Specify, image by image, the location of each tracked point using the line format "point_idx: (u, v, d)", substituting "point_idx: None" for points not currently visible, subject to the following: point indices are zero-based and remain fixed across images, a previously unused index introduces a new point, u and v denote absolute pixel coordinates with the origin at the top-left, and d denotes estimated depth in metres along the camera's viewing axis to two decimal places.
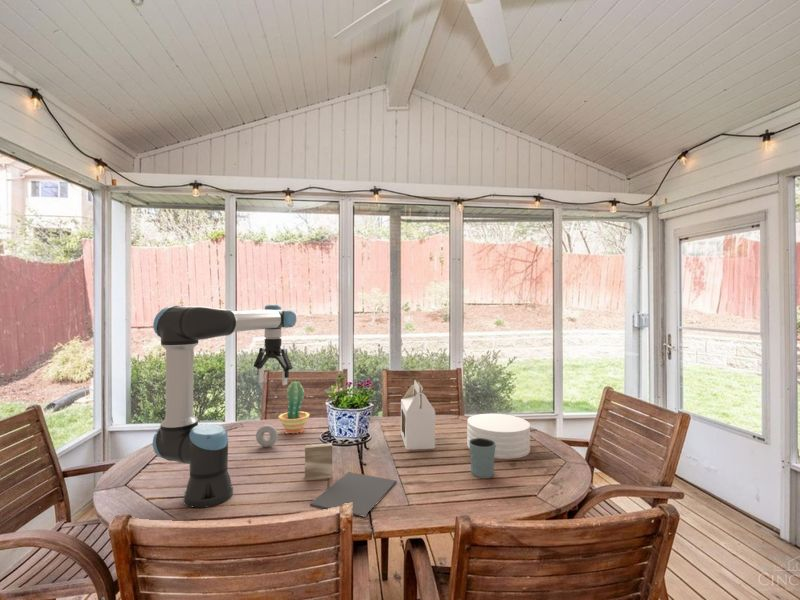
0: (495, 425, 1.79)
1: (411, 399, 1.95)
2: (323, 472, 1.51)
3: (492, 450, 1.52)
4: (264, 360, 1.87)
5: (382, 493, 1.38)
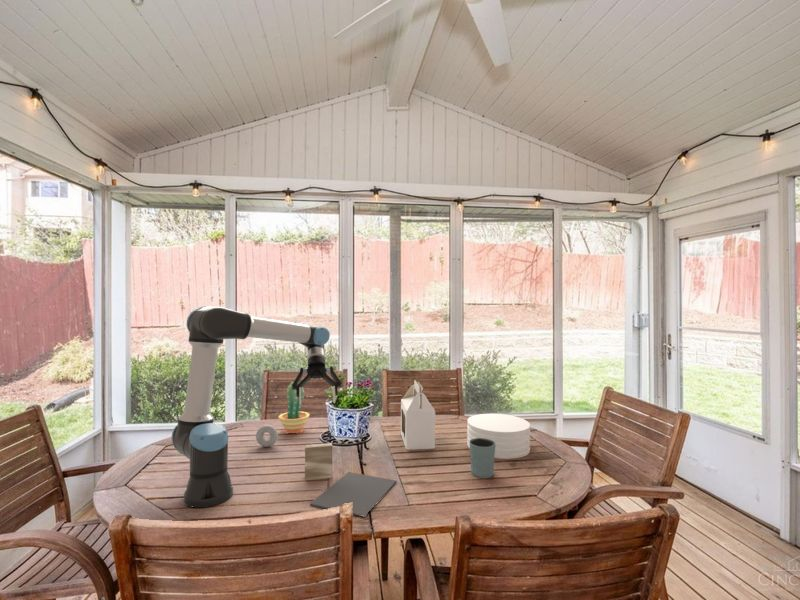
0: (495, 425, 1.79)
1: (411, 399, 1.95)
2: (323, 472, 1.51)
3: (492, 450, 1.52)
4: (307, 379, 1.68)
5: (382, 493, 1.38)
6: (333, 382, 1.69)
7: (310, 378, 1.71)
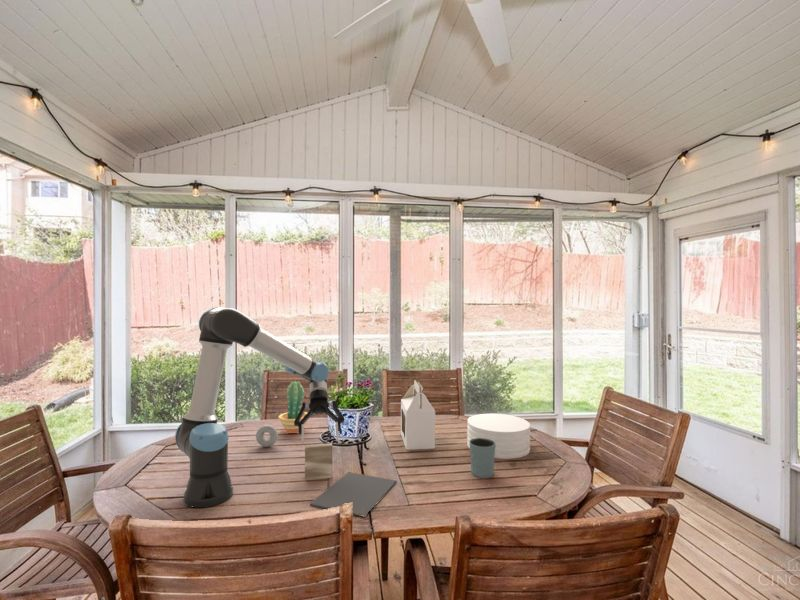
0: (495, 425, 1.79)
1: (411, 399, 1.95)
2: (323, 472, 1.51)
3: (492, 450, 1.52)
4: (309, 414, 1.65)
5: (382, 493, 1.38)
6: (336, 418, 1.66)
7: (312, 413, 1.68)
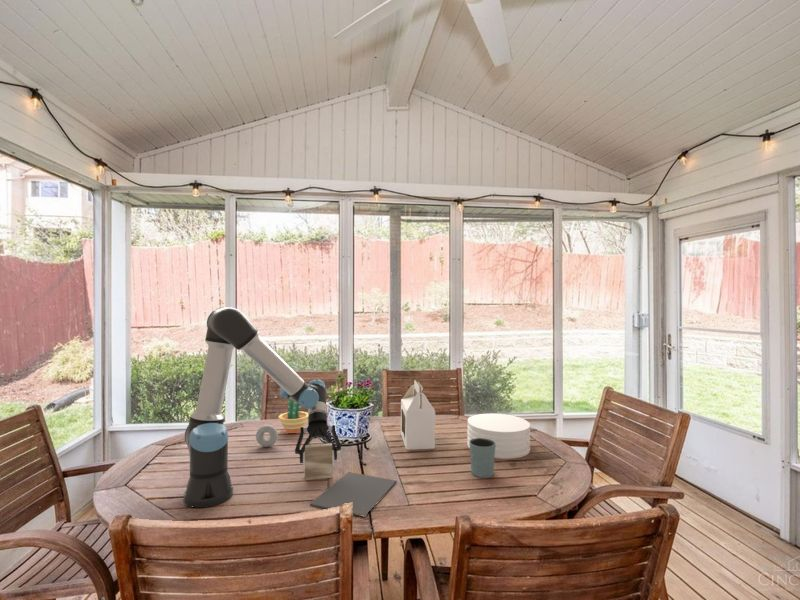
0: (495, 425, 1.79)
1: (411, 399, 1.95)
2: (323, 472, 1.51)
3: (492, 450, 1.52)
4: (309, 440, 1.55)
5: (382, 493, 1.38)
6: (332, 445, 1.55)
7: (312, 438, 1.58)
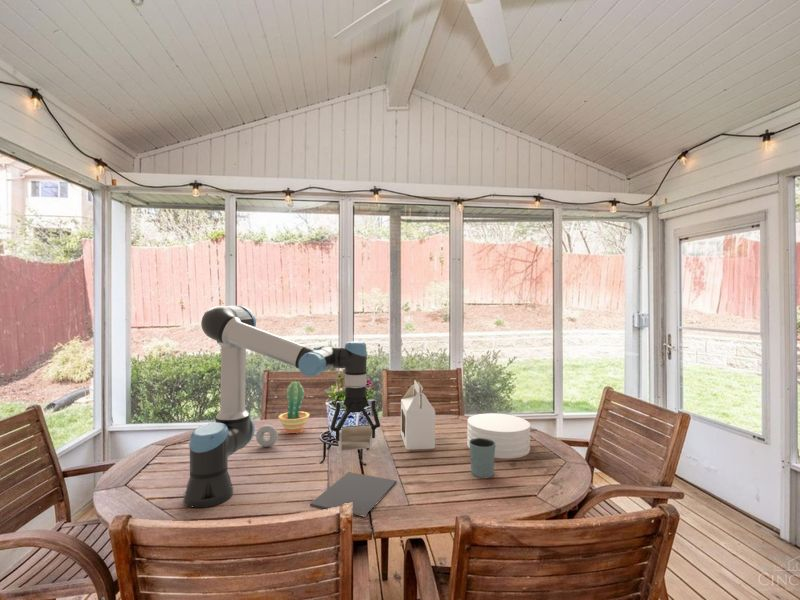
0: (495, 425, 1.80)
1: (411, 399, 1.95)
2: (359, 446, 1.44)
3: (492, 450, 1.52)
4: (346, 418, 1.40)
5: (382, 493, 1.38)
6: (371, 424, 1.42)
7: None
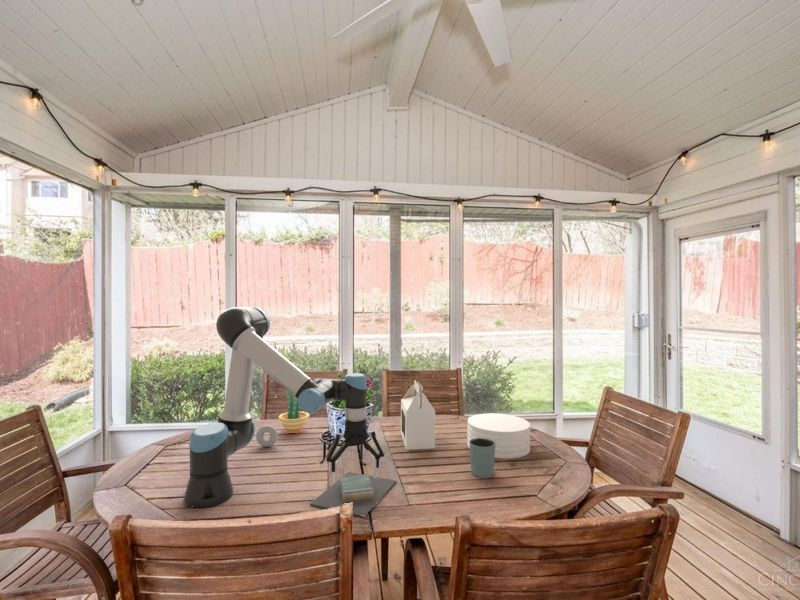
0: (495, 425, 1.80)
1: (411, 399, 1.95)
2: None
3: (492, 450, 1.52)
4: None
5: (382, 493, 1.38)
6: (374, 454, 1.41)
7: None
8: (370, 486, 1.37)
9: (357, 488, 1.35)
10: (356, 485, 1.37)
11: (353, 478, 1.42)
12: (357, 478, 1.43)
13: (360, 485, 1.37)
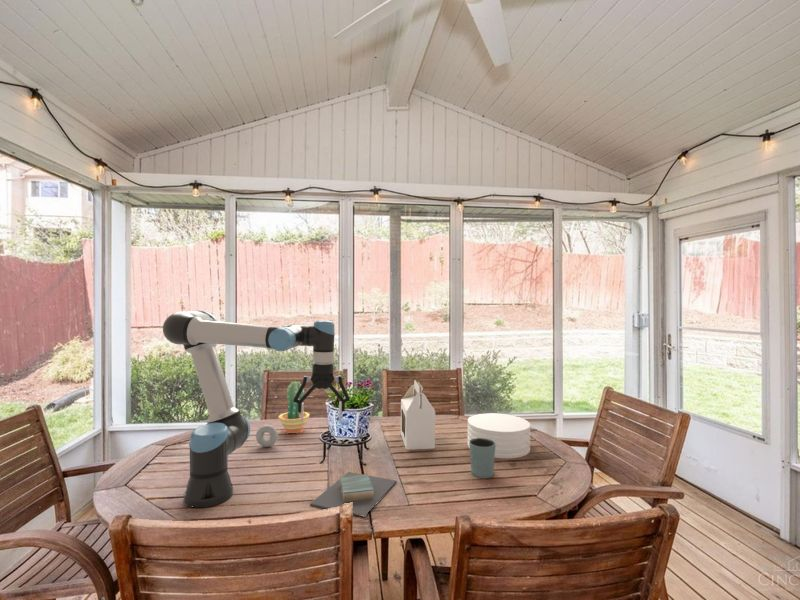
0: (495, 425, 1.80)
1: (411, 399, 1.95)
2: None
3: (492, 450, 1.52)
4: (310, 392, 1.45)
5: (382, 493, 1.38)
6: (340, 398, 1.47)
7: None
8: (370, 486, 1.37)
9: (357, 488, 1.35)
10: (356, 485, 1.37)
11: (353, 478, 1.42)
12: (357, 478, 1.43)
13: (360, 485, 1.37)
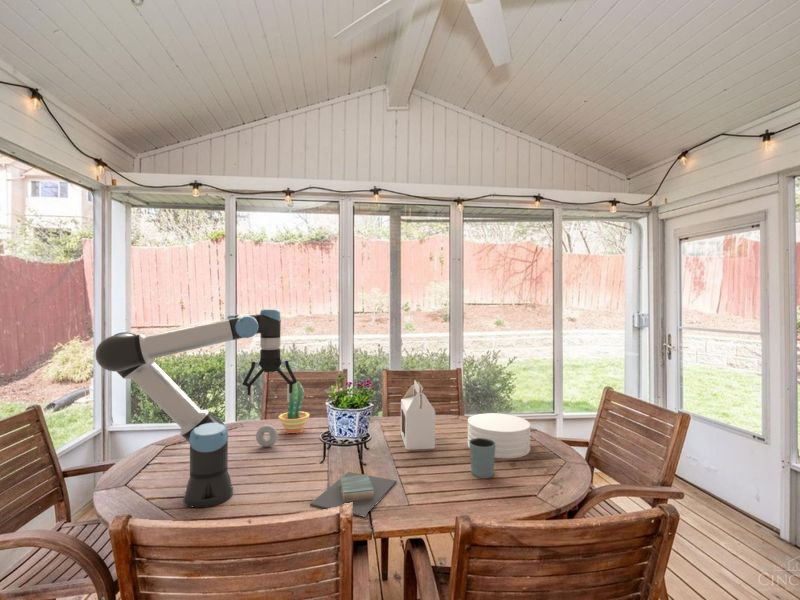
0: (495, 425, 1.80)
1: (411, 399, 1.95)
2: None
3: (492, 450, 1.52)
4: None
5: (382, 493, 1.38)
6: (288, 381, 1.58)
7: None
8: (370, 486, 1.37)
9: (357, 488, 1.35)
10: (356, 485, 1.37)
11: (353, 478, 1.42)
12: (357, 478, 1.43)
13: (360, 485, 1.37)
